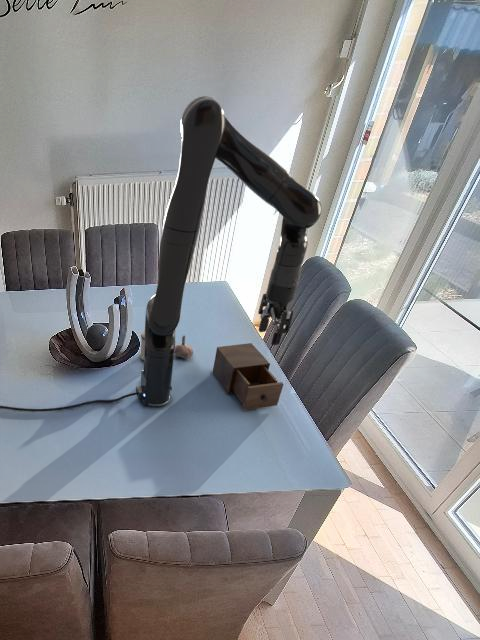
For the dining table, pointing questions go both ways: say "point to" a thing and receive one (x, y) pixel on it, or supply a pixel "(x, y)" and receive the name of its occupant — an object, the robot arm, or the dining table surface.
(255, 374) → the drawer
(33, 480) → the dining table surface
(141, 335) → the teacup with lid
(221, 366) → the cabinet
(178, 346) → the garlic bulb
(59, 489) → the dining table surface
